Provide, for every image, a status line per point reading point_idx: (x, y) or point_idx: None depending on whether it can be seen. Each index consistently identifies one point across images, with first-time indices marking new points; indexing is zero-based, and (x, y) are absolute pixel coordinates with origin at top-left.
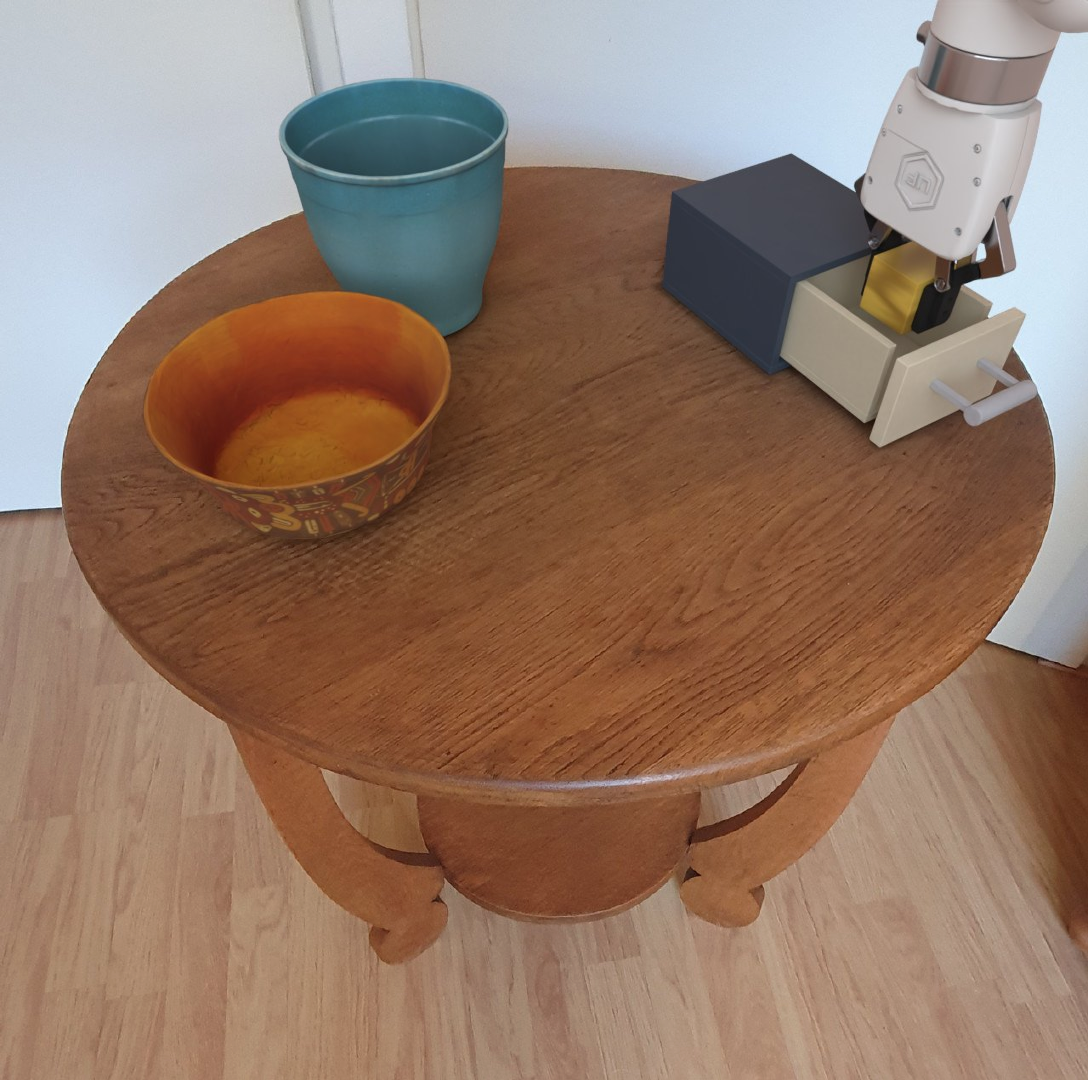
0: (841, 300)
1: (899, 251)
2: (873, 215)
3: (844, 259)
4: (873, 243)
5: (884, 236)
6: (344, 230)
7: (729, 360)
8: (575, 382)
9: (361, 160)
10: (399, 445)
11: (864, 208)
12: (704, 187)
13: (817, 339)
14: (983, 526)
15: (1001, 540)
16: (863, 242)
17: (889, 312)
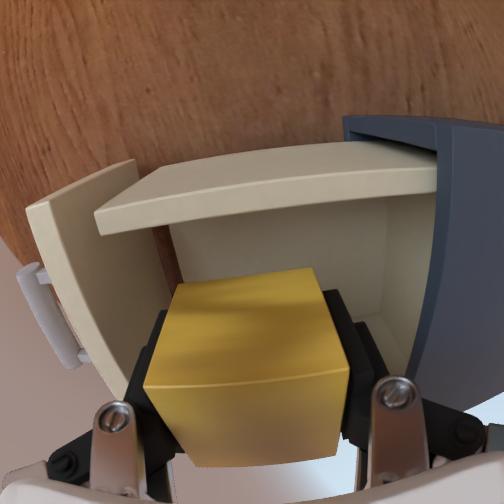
0: (394, 286)
1: (320, 423)
2: (441, 478)
3: (429, 310)
4: (393, 390)
5: (372, 432)
6: None
7: (394, 89)
8: None
9: None
10: None
11: (484, 427)
12: None
13: (308, 155)
14: (19, 214)
15: (6, 219)
16: (433, 367)
17: (221, 297)
